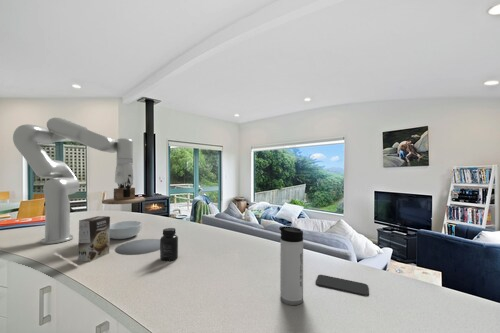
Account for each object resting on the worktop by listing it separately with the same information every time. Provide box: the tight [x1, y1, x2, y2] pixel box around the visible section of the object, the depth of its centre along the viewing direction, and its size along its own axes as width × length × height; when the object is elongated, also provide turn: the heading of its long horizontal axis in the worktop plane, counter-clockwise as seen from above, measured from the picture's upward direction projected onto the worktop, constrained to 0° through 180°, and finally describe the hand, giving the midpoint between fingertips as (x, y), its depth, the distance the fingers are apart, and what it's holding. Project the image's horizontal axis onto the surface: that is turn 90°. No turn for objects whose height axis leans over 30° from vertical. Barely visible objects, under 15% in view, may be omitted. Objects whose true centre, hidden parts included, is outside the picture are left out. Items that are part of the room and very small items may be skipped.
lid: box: [101, 187, 146, 205], centre depth 120 cm, size 20×20×7 cm
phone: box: [314, 274, 370, 297], centre depth 71 cm, size 7×1×15 cm
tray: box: [114, 238, 161, 256], centre depth 105 cm, size 22×22×1 cm
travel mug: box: [279, 225, 304, 306], centre depth 64 cm, size 6×7×20 cm
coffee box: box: [77, 215, 111, 262], centre depth 93 cm, size 9×6×16 cm
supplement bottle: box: [159, 227, 179, 263], centre depth 91 cm, size 7×7×12 cm
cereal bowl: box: [110, 220, 142, 240], centre depth 120 cm, size 17×17×7 cm
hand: (124, 196), depth 120 cm, fingers closed on lid, 4 cm apart
